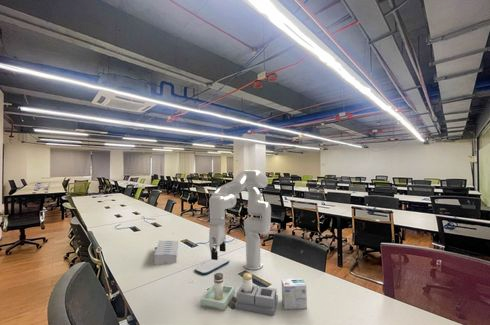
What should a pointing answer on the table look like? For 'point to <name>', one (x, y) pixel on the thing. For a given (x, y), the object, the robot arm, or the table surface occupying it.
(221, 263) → the external hard drive
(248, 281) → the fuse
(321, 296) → the table surface
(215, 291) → the fuse
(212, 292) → the parts tray
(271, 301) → the panel
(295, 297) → the light bulb box
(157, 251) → the warehouse
